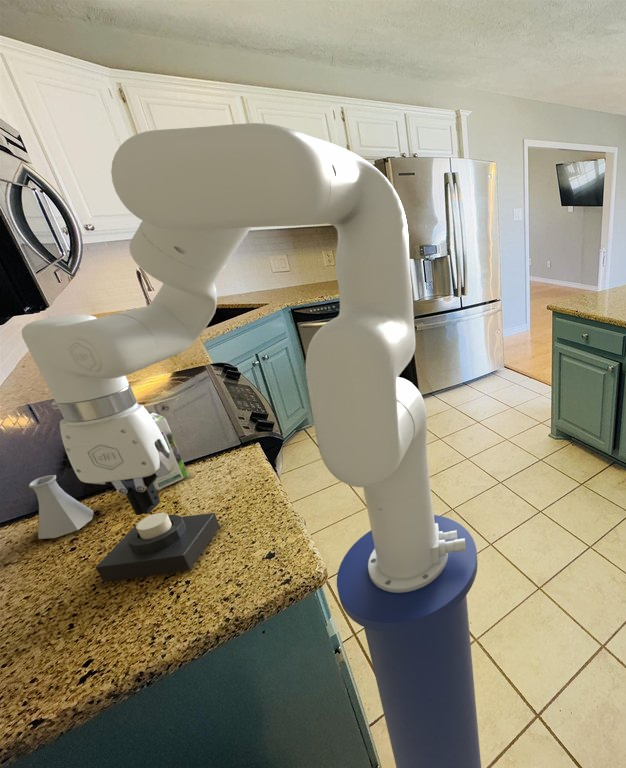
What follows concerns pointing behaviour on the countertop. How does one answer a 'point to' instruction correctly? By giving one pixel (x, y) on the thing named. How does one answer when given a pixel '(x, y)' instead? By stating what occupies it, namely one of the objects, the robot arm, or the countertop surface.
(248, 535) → the countertop surface
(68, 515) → the flask
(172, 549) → the dark grey button base
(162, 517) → the white push button
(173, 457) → the syrup box
